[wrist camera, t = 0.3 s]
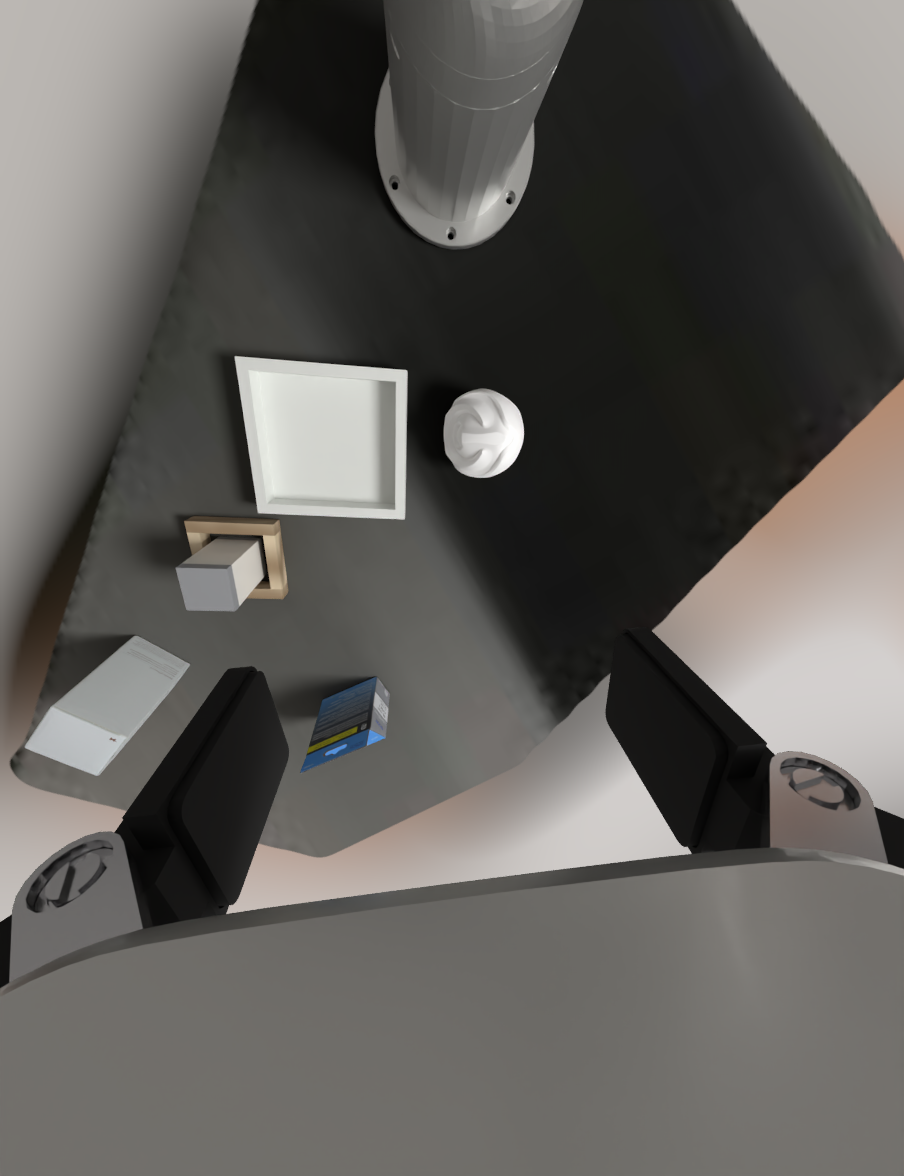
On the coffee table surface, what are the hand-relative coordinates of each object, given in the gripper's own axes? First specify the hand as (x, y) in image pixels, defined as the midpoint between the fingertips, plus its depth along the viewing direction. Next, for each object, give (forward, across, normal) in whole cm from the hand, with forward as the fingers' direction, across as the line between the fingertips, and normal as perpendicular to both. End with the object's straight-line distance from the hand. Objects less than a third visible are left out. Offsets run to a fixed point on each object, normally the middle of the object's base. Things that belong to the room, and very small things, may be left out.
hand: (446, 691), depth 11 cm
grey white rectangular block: (+36, +22, +8) cm, 43 cm away
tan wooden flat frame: (+36, +22, +8) cm, 43 cm away
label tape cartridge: (+37, +12, +30) cm, 49 cm away
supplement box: (+37, +38, +22) cm, 57 cm away
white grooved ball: (+36, -6, -4) cm, 37 cm away
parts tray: (+36, +9, -4) cm, 37 cm away
